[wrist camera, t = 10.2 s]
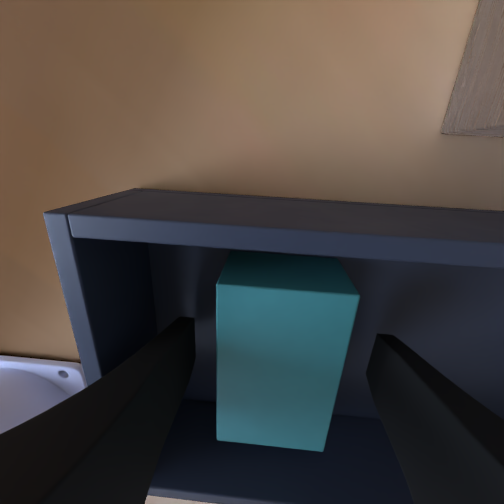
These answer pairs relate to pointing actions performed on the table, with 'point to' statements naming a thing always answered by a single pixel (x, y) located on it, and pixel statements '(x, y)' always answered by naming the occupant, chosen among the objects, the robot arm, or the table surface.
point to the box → (286, 243)
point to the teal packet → (280, 347)
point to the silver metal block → (480, 77)
